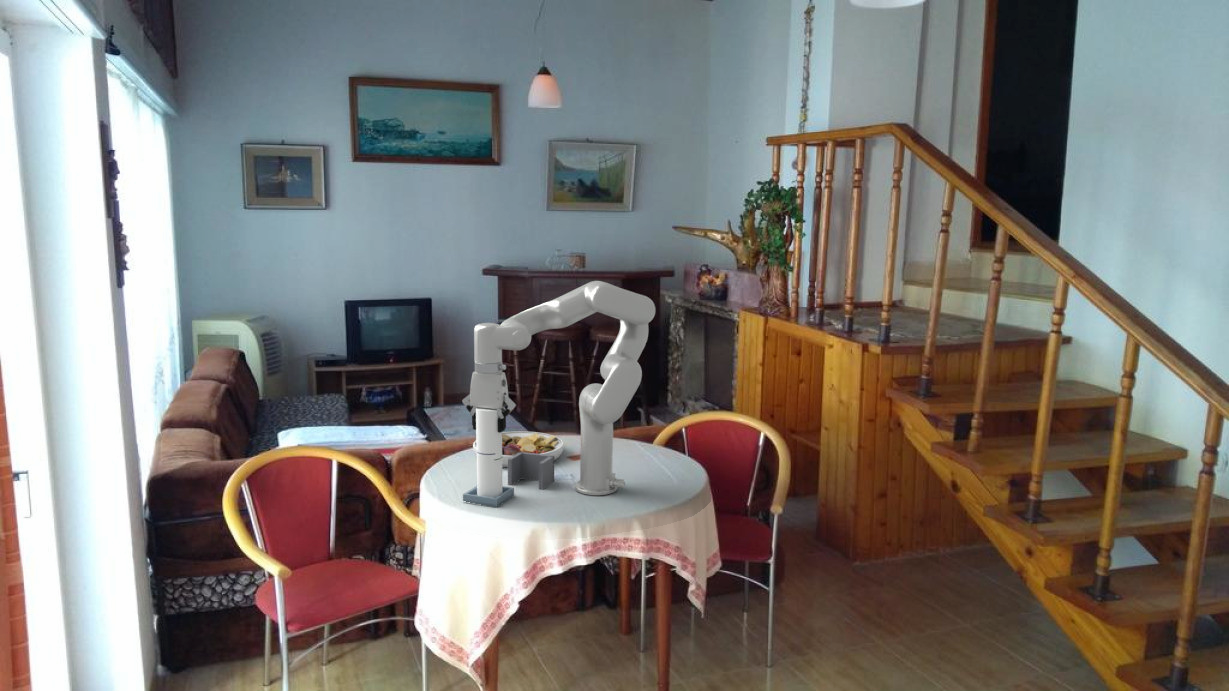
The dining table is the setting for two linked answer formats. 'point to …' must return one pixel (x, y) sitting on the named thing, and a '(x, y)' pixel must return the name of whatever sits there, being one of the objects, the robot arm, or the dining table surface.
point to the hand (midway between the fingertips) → (489, 429)
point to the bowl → (528, 444)
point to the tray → (488, 501)
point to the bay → (531, 468)
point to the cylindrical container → (488, 453)
